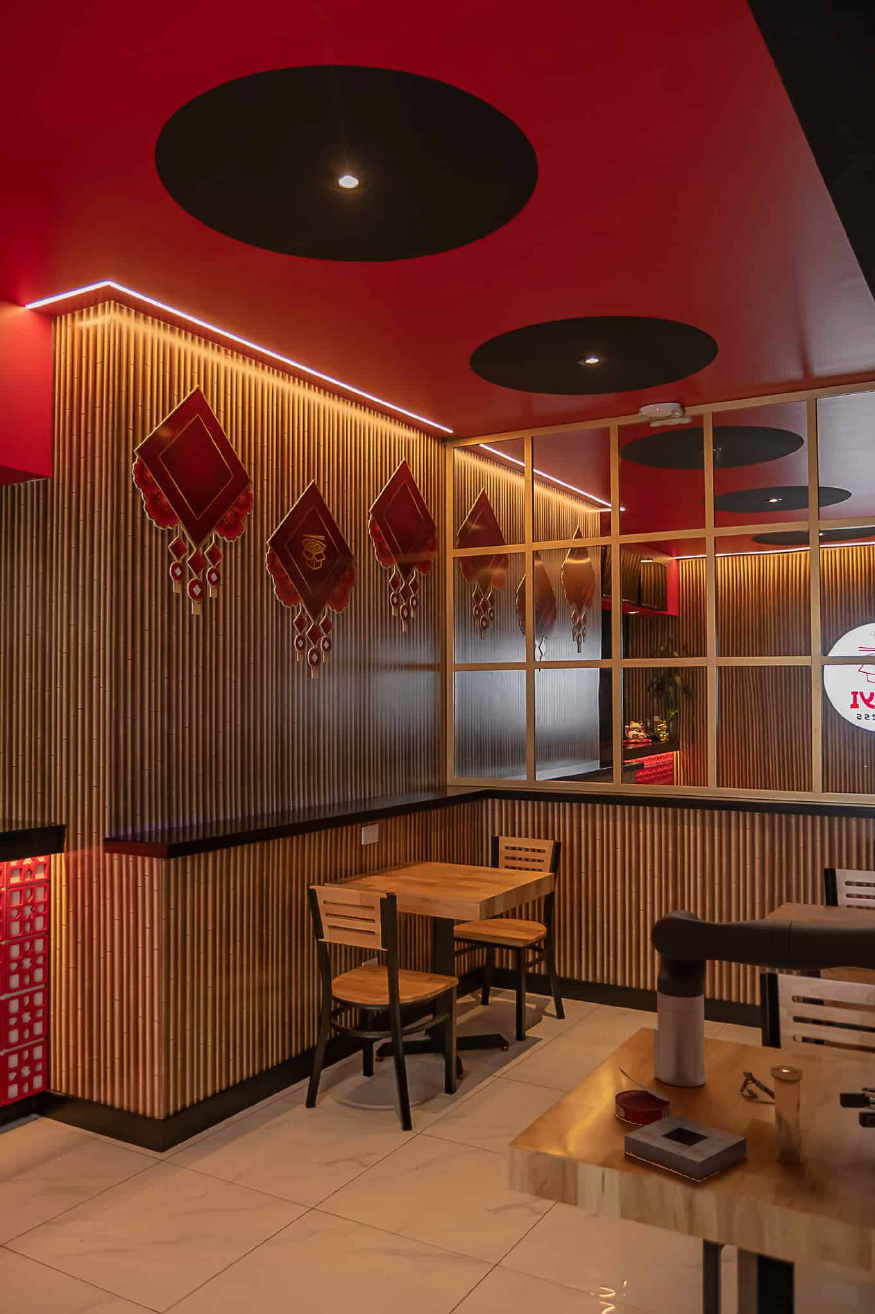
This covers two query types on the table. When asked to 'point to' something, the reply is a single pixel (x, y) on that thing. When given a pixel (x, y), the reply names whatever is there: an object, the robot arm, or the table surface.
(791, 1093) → the bushing
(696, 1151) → the jig
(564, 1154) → the table surface
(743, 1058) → the table surface
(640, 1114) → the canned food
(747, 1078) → the brown turned rod
